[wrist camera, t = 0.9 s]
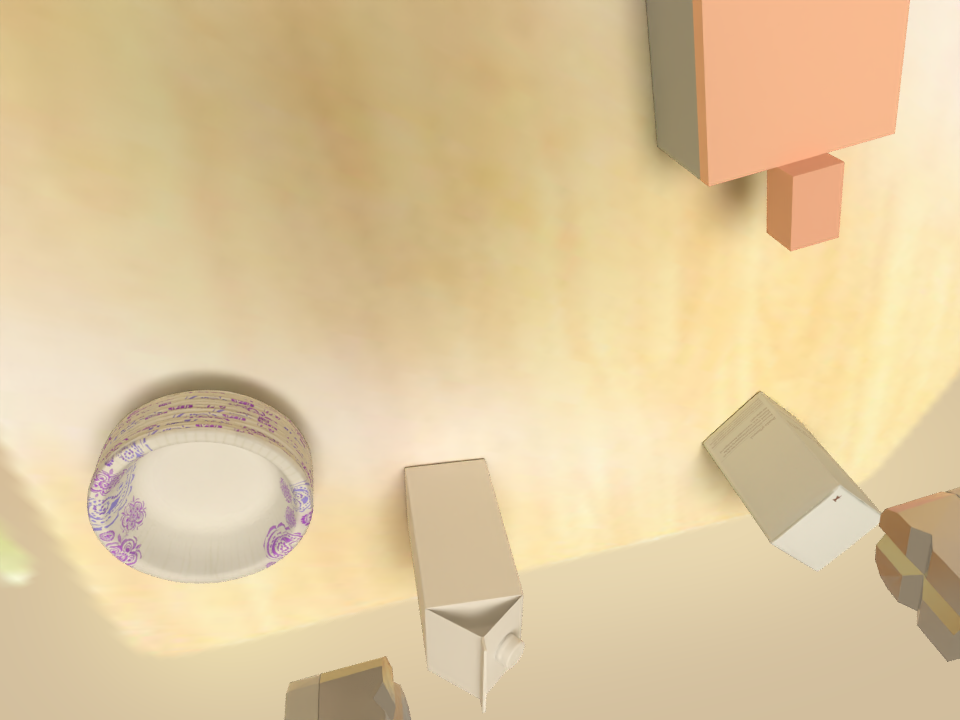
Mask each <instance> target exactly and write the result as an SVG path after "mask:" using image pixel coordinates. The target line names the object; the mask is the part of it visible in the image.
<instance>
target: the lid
mask: <svg viewBox="0 0 960 720" xmlns="http://www.w3.org/2000/svg"><path fill="white" fill-rule="evenodd" d="M692 4H693V26H694V49H695V71H696V94H697V116H698V138H699V161H700V180H701V181H702V182H704V183H705V184H706V185H707V186H713V185H716V184H720V183H723V182H727V181H730V180H734V179H737V178H741V177H744V176H748V175H751V174H755V173H758V172H762V171H765V170H767V233H768V234H769V235H770V236H772V237H773V238H774V239H776V240H777V241H778V242H779V243H781V244H782V245H783V246H785V247H786V248H787V249H788V250H790V251H793V250H797V249H800V248H804V247H807V246H811V245H814V244H818V243H821V242H824V241H828V240H831V239H835V238H838V237H839V228H840V214H841V201H842V188H843V174H844V162H843V161H841V160H840V159H838V158H836V157H834V156H832V155H830V154H828V152H832V151H835V150H839V149H842V148H846V147H849V146H853V145H856V144H859V143H863V142H866V141H870V140H873V139H877V138H880V137H884V136H887V135H891V134H894V133H895V127H896V118H897V110H898V101H899V92H900V83H901V74H902V66H903V57H904V48H905V39H906V31H907V22H908V13H909V4H910V0H692Z"/></svg>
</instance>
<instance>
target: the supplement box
mask: <svg viewBox="0 0 960 720" xmlns="http://www.w3.org/2000/svg"><path fill="white" fill-rule="evenodd" d="M703 445H704V446H705V448H706V450H707V451H708V452H709V454H710V455H711V457H712V458H713V460H714V461H715V463H716V464H717V466H718V467H719V468H720V470H721V471H722V473H723V474H724V476H725V477H726V479H727V480H728V482H729V483H730V485H731V486H732V487H733V489H734V490H735V492H736V493H737V495H738V496H739V498H740V499H741V500H742V502H743V503H744V505H745V506H746V508H747V509H748V511H749V512H750V513H751V515H752V516H753V518H754V519H755V521H756V522H757V524H758V525H759V527H760V528H761V530H762V531H763V532H764V534H765V536H766V537H767V538H768V540H769V542H770V543H771V544H772V545H774V546H775V547H777V548H779V549H780V550H782V551H784V552H785V553H787V554H789V555H790V556H792V557H794V558H795V559H797V560H799V561H800V562H802V563H804V564H805V565H807V566H809V567H811V568H812V569H814V570H815V571H819V570H821V569H822V568H823V567H825V566H826V565H827V564H829V563H830V562H831V561H832V560H834V559H835V558H836V557H838V556H839V555H840V554H841V553H842V552H844V551H845V550H846V549H848V548H849V547H850V546H851V545H853V544H854V543H855V542H857V541H858V540H859V539H860V538H862V537H863V536H864V535H865V534H867V533H868V532H869V531H870V530H872V529H873V528H874V527H875V526H876V525H878V524H879V522H880V515H881V514H882V513H881V512H880V511H879V510H878V508H877V507H876V506H875V505H874V504H873V503H872V501H871V500H870V499H869V498H868V497H867V496H866V495H865V494H864V492H863V491H862V490H861V489H860V488H859V487H858V486H857V485H856V483H855V482H854V481H853V480H852V479H851V478H850V477H849V476H848V475H847V473H846V472H845V471H844V470H843V469H842V468H841V467H840V466H839V464H838V463H837V462H836V461H835V460H834V459H833V458H832V457H831V456H830V454H829V453H828V452H827V451H826V450H825V449H824V448H823V447H822V446H821V444H820V443H819V442H818V441H817V440H816V439H815V437H814V436H813V435H812V434H811V433H810V432H809V431H808V429H807V428H806V427H805V426H804V425H803V424H802V423H801V422H800V421H799V420H797V419H796V418H795V417H794V416H792V415H791V414H790V413H789V412H787V411H786V410H785V409H783V408H782V407H781V406H779V405H778V404H777V403H775V402H774V401H773V400H771V399H770V398H769V397H768V396H766V395H765V394H764V393H762V392H759V393H757V394H756V395H755V396H754V397H753V398H752V399H751V400H749V401H748V402H747V403H746V404H745V405H744V406H743V407H742V408H741V409H739V410H738V411H737V412H736V413H735V414H734V415H733V416H732V417H730V418H729V419H728V420H727V421H726V422H725V423H724V424H723V425H722V426H720V427H719V428H718V429H717V430H716V431H715V432H714V433H713V434H711V435H710V436H709V437H708V438H707V439H706V440H705V441H704V443H703Z"/></svg>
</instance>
